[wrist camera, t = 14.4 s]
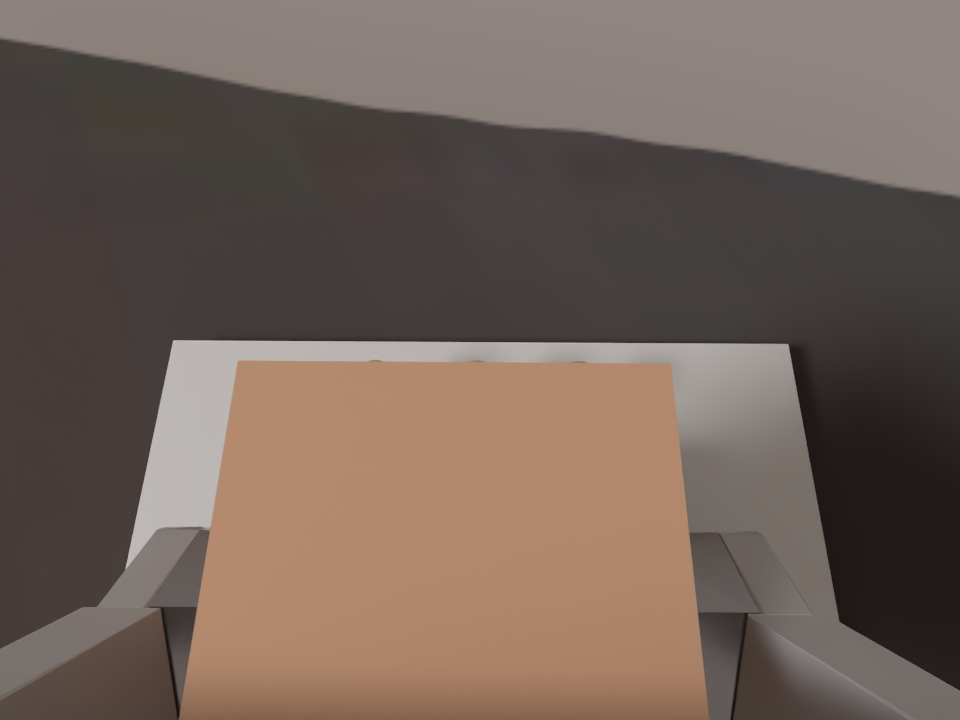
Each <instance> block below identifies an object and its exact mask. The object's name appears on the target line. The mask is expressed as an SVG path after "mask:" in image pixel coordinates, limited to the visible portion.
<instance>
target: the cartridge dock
mask: <svg viewBox="0 0 960 720" xmlns="http://www.w3.org/2000/svg"><path fill="white" fill-rule="evenodd" d="M238 361H373V362H512V363H651V364H671V370H672V379H673V388H674V398H675V407H676V416H677V425H678V435H679V444H680V453H681V462H682V472H683V481H684V490H685V499H686V509H687V518H688V527H689V533H703V532H743V531H756V532H758V533H760V534H762V535H763V536H764V538H765V539H766V541H767V543H768V544H769V546H770V547H771V549H772V550H773V552H774V554H775V555H776V557H777V558H778V560H779V561H780V563H781V565H782V566H783V568H784V569H785V571H786V573H787V574H788V576H789V577H790V579H791V580H792V582H793V584H794V585H795V587H796V588H797V590H798V591H799V593H800V595H801V596H802V598H803V599H804V601H805V603H806V604H807V606H808V607H809V609H810V610H811V612H812V614H813V615H828V616H830V617H831V618H833V619H835V620H837V621H838V622H839V617H838V611H837V606H836V601H835V595H834V590H833V584H832V579H831V573H830V568H829V563H828V557H827V552H826V546H825V541H824V535H823V530H822V525H821V519H820V514H819V508H818V503H817V497H816V492H815V487H814V481H813V476H812V470H811V465H810V459H809V454H808V449H807V443H806V438H805V432H804V427H803V421H802V416H801V411H800V405H799V400H798V394H797V389H796V383H795V378H794V373H793V367H792V362H791V356H790V351H789V345H788V344H698V343H526V342H354V341H183V340H173V344H172V349H171V354H170V359H169V364H168V368H167V373H166V378H165V383H164V388H163V392H162V397H161V402H160V407H159V412H158V416H157V421H156V426H155V431H154V435H153V440H152V445H151V450H150V455H149V459H148V464H147V469H146V474H145V479H144V483H143V488H142V493H141V498H140V503H139V507H138V512H137V517H136V522H135V526H134V531H133V536H132V541H131V546H130V550H129V555H128V560H127V565H126V569H127V567H128V566H129V565H130V564H131V562H132V561H133V560H134V558H135V557H136V556H137V555H138V553H139V552H140V551H141V549H142V548H143V547H144V546H145V544H146V543H147V542H148V540H149V539H150V538H151V536H152V535H153V534H154V533H155V531H156V530H157V529H160V528H164V527H201V526H202V527H204V528H207V527H211V521H212V515H213V509H214V503H215V497H216V491H217V485H218V479H219V472H220V466H221V460H222V454H223V448H224V442H225V436H226V430H227V424H228V418H229V412H230V405H231V399H232V393H233V387H234V381H235V375H236V369H237V363H238Z"/></svg>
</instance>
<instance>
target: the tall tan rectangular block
mask: <svg viewBox="0 0 960 720" xmlns="http://www.w3.org/2000/svg"><path fill="white" fill-rule="evenodd" d="M179 720H709V712H708V703H707V694H706V684H705V675H704V666H703V657H702V647H701V638H700V629H699V620H698V610H697V601H696V592H695V583H694V573H693V564H692V555H691V546H690V536H689V527H688V518H687V509H686V499H685V490H684V481H683V472H682V462H681V453H680V444H679V435H678V425H677V416H676V407H675V398H674V388H673V379H672V370H671V364H651V363H512V362H373V361H238V363H237V369H236V375H235V381H234V387H233V393H232V399H231V405H230V412H229V418H228V424H227V430H226V436H225V442H224V448H223V454H222V460H221V466H220V472H219V479H218V485H217V491H216V497H215V503H214V509H213V515H212V521H211V527H210V533H209V539H208V546H207V552H206V558H205V564H204V570H203V576H202V582H201V588H200V594H199V600H198V607H197V613H196V619H195V625H194V631H193V637H192V643H191V649H190V655H189V661H188V667H187V674H186V680H185V686H184V692H183V698H182V704H181V710H180V716H179Z"/></svg>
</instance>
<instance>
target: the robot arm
mask: <svg viewBox="0 0 960 720" xmlns="http://www.w3.org/2000/svg"><path fill="white" fill-rule="evenodd" d="M209 533H210V527H207V528H204V527H202V526H201V527H164V528H160V529H157V530H156V531H155V533H154V534H153V535H152V536H151V538H150V539H149V540H148V542H147V543H146V544H145V546H144V547H143V548H142V549H141V551H140V552H139V553H138V555H137V556H136V557H135V558H134V560H133V561H132V562H131V564H130V565H129V566H128V567H127V569H126V570H125V571H124V573H123V574H122V575H121V576H120V578H119V579H118V580H117V582H116V583H115V584H114V585H113V587H112V588H111V589H110V591H109V592H108V593H107V594H106V596H105V597H104V598H103V600H102V601H101V602H100V604H99V605H98V606H97V607H82V608H80V609H79V610H77V611H75V612H73V613H71V614H69V615H67V616H65V617H63V618H61V619H59V620H57V621H55V622H53V623H51V624H49V625H47V626H45V627H43V628H41V629H39V630H37V631H35V632H33V633H31V634H29V635H27V636H25V637H23V638H21V639H19V640H17V641H15V642H13V643H11V644H9V645H7V646H5V647H3V648H1V649H0V720H179V716H180V710H181V704H182V698H183V692H184V686H185V680H186V674H187V667H188V661H189V655H190V649H191V643H192V637H193V631H194V625H195V619H196V613H197V607H198V600H199V594H200V588H201V582H202V576H203V570H204V564H205V558H206V552H207V546H208V539H209ZM689 536H690V546H691V555H692V564H693V573H694V583H695V592H696V601H697V610H698V620H699V629H700V638H701V647H702V657H703V666H704V675H705V684H706V694H707V703H708V712H709V720H960V690H958V689H956V688H954V687H952V686H951V685H949V684H947V683H945V682H944V681H942V680H940V679H938V678H937V677H935V676H933V675H931V674H930V673H928V672H926V671H924V670H923V669H921V668H919V667H917V666H916V665H914V664H912V663H910V662H909V661H907V660H905V659H903V658H902V657H900V656H898V655H896V654H895V653H893V652H891V651H889V650H888V649H886V648H884V647H882V646H881V645H879V644H877V643H875V642H873V641H872V640H870V639H868V638H866V637H865V636H863V635H861V634H859V633H858V632H856V631H854V630H852V629H851V628H849V627H847V626H845V625H844V624H842V623H840V622H838V621H837V620H835V619H833V618H831V617H830V616H828V615H813V614H812V612H811V610H810V609H809V607H808V606H807V604H806V603H805V601H804V599H803V598H802V596H801V595H800V593H799V591H798V590H797V588H796V587H795V585H794V584H793V582H792V580H791V579H790V577H789V576H788V574H787V573H786V571H785V569H784V568H783V566H782V565H781V563H780V561H779V560H778V558H777V557H776V555H775V554H774V552H773V550H772V549H771V547H770V546H769V544H768V543H767V541H766V539H765V538H764V536H763V535H762V534H760V533H758V532H756V531H743V532H703V533H689Z"/></svg>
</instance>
